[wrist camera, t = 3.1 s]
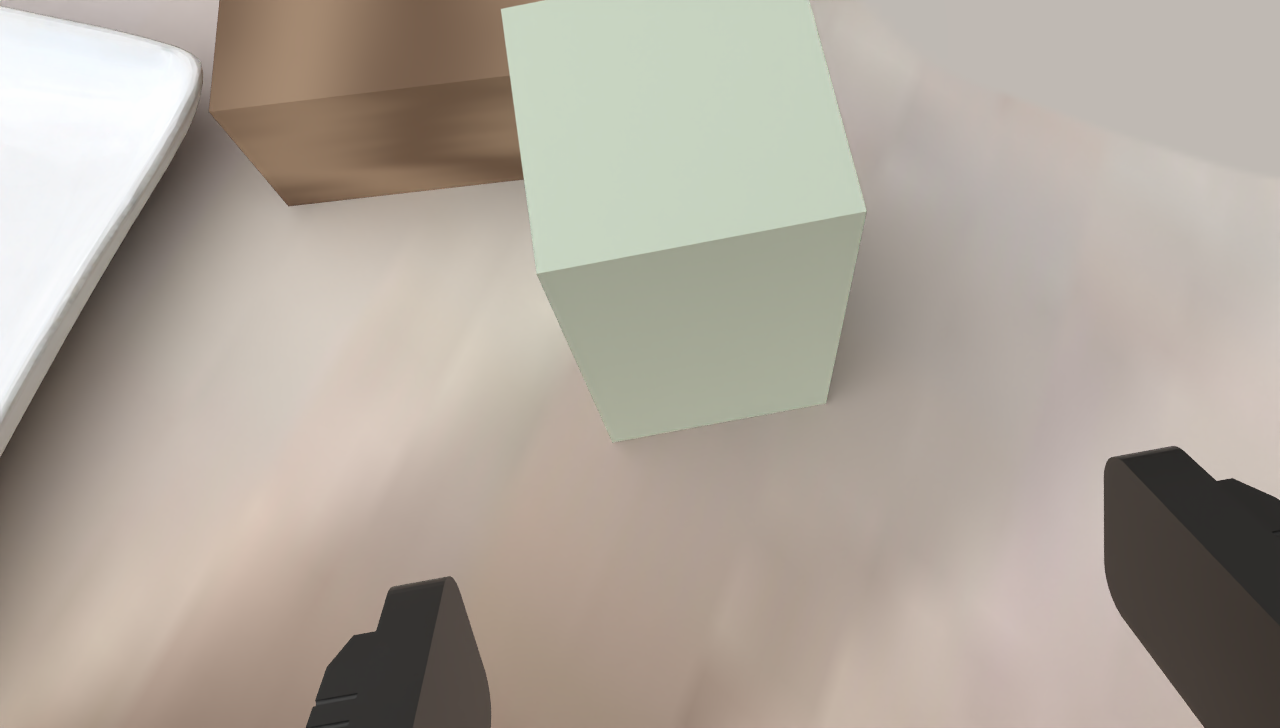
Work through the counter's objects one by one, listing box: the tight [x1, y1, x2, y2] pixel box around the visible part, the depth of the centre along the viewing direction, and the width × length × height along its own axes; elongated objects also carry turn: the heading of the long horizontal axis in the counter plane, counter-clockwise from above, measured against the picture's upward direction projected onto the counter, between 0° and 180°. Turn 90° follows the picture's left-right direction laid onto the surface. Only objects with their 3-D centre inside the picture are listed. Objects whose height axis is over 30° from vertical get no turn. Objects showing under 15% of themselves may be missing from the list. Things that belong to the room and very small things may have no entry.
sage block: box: [501, 0, 867, 442], centre depth 23 cm, size 6×6×10 cm
